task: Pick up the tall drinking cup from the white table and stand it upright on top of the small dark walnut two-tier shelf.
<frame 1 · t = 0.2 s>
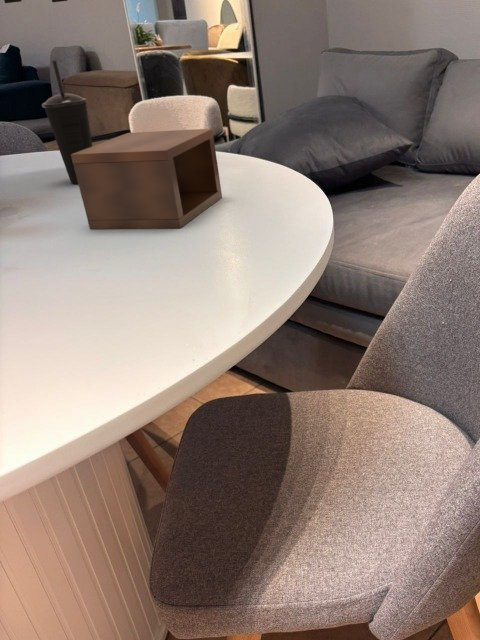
hand: (37, 2, 110), 29 cm above the table, tool pointing down, fingers open, 13 cm apart
walnut shelf: (159, 212, 94), on the table
drinking cup: (84, 182, 119), on the table
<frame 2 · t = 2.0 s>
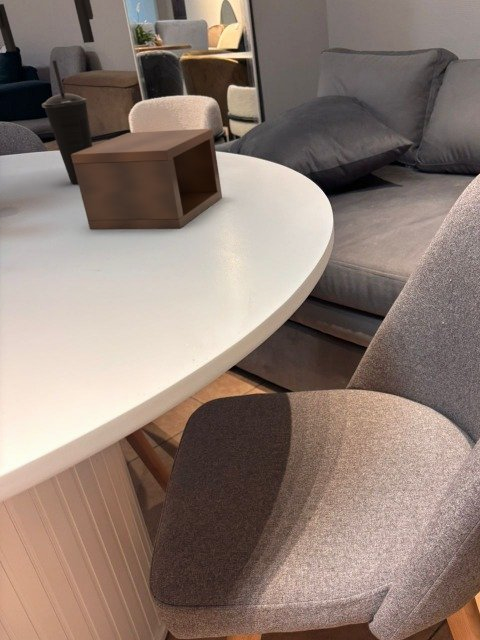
hand: (51, 47, 108), 22 cm above the table, tool pointing down, fingers open, 13 cm apart
nothing on the table moved.
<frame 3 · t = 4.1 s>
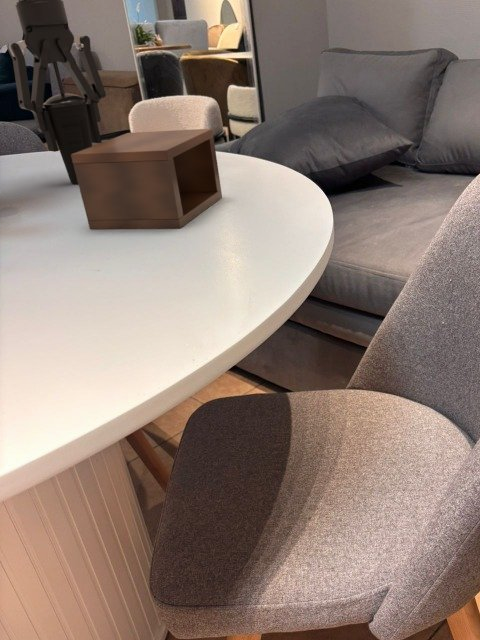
hand: (75, 146, 116), 6 cm above the table, tool pointing down, fingers closed on drinking cup, 8 cm apart
drinking cup: (84, 182, 119), on the table, touching gripper
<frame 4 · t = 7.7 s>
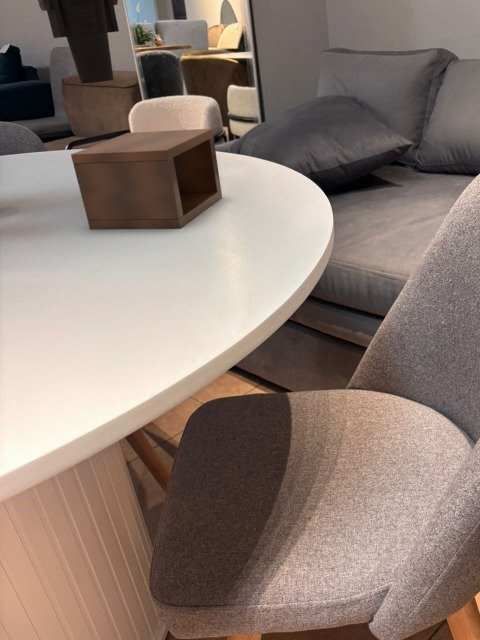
hand: (86, 34, 93), 23 cm above the table, tool pointing down, fingers closed on drinking cup, 8 cm apart
drinking cup: (97, 82, 97), point 17 cm above the table, touching gripper
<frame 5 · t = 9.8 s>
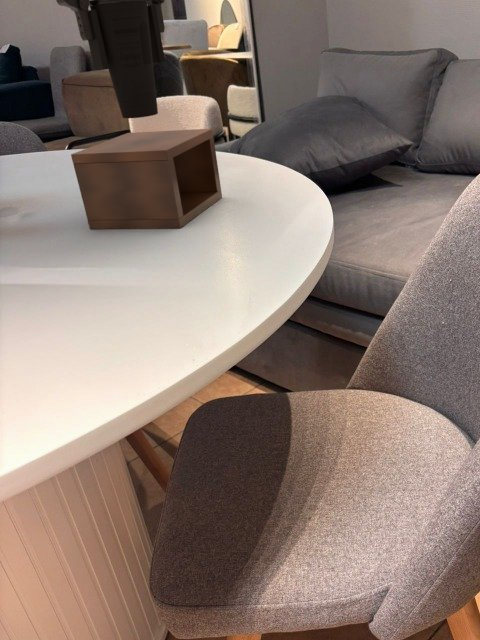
hand: (130, 65, 84), 19 cm above the table, tool pointing down, fingers closed on drinking cup, 8 cm apart
drinking cup: (140, 117, 88), point 13 cm above the table, touching gripper
when the fingers open (16 cm above the table, at t = 11.2 s): drinking cup stays where it is, resting on walnut shelf.
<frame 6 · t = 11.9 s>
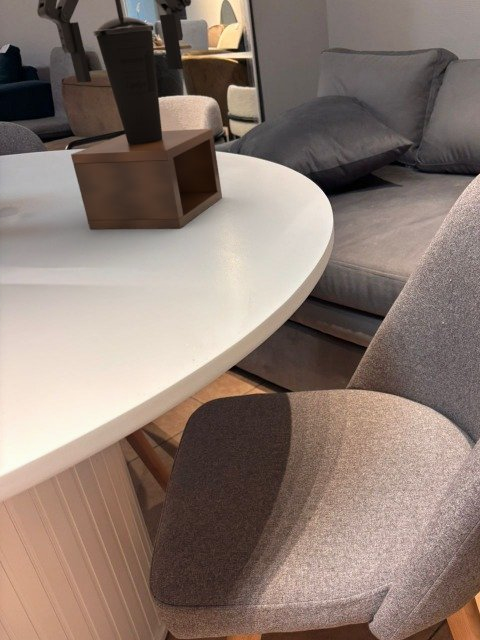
hand: (132, 75, 85), 18 cm above the table, tool pointing down, fingers open, 13 cm apart
drinking cup: (145, 142, 89), point 10 cm above the table, touching walnut shelf
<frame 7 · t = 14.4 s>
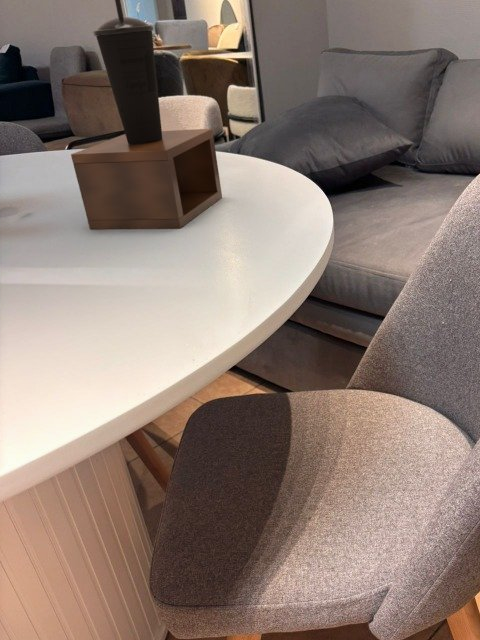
nothing on the table moved.
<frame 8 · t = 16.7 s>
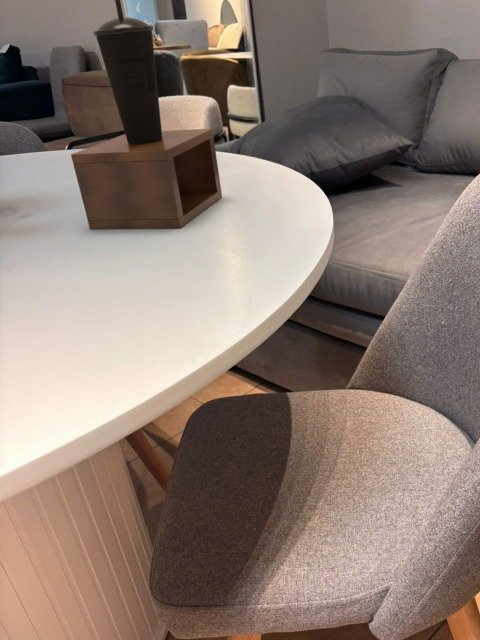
nothing on the table moved.
at the end: drinking cup inside the target area on the walnut shelf (0.0 cm from its centre), point 9.8 cm above the walnut shelf's base; drinking cup tilted 0°; the gripper is holding nothing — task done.
